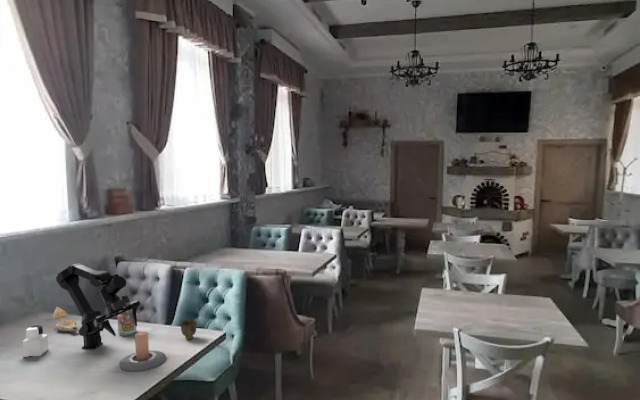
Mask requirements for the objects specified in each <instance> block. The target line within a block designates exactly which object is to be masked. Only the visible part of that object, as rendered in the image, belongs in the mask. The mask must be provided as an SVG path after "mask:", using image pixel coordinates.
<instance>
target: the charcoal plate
mask: <svg viewBox="0 0 640 400" xmlns="http://www.w3.org/2000/svg"><path fill="white" fill-rule="evenodd" d="M149 352H154V353H156V359H155V360H154V361H153V362H151V363H148V364H145V365H139V366H138V365H131V364H129V357H131V356H132V355H134V354H136V352H134V353H131V354H129V355H126V356H125V357H123V358H122V359H121V360H119V363H118V367H119V369H120V370H122V371H124V372H132V373H134V372H143V371H148V370H152V369H154V368H156V367H158V366H161V365H162V364H163V363H164V362H166V360H167V356H166V354H165V352H163V351H160V350H149ZM151 357H152V356H149V359H150V358H151ZM134 361H136V358H135V359H134Z"/></svg>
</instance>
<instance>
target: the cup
mask: <svg viewBox="0 0 640 400" xmlns="http://www.w3.org/2000/svg"><path fill="white" fill-rule="evenodd" d="M179 323H180V324H179V325H180V329H181V334H182V335H183V336H184V338H185V340H188V341H189V340H192V339H193V338H194V335H195V334H196V332H197V327H198V326H197V323H198V321H197V320H195V319H188V320H187V319H184V320H182V321H181V322H179Z"/></svg>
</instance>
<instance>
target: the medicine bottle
mask: <svg viewBox="0 0 640 400" xmlns="http://www.w3.org/2000/svg"><path fill="white" fill-rule="evenodd" d="M25 335H26V338H25V339H24V340H22V341H21V342H22V343H21V344H22V357H23V358H27V357H29V356H33V357H41V356H42V355H44V354H45V353H46V352H48V351H49V337H48V336H49V335H48V334H47V333H46V334H44V329H43V326H42V325H40V324H37V325H31V326H28V327H27V328H26V330H25Z"/></svg>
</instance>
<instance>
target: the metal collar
mask: <svg viewBox="0 0 640 400" xmlns="http://www.w3.org/2000/svg"><path fill="white" fill-rule="evenodd" d="M133 354H134V353H133ZM149 356H152V357H151V358H150V359H148V360H144V361H134V359H135V358H136V354H134V355H132V356H131V357H129V364H131V365H138V366H139V365H145V364H148V363H151V362H153V361H154V360H155V359H156V353H154V352H149Z"/></svg>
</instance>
